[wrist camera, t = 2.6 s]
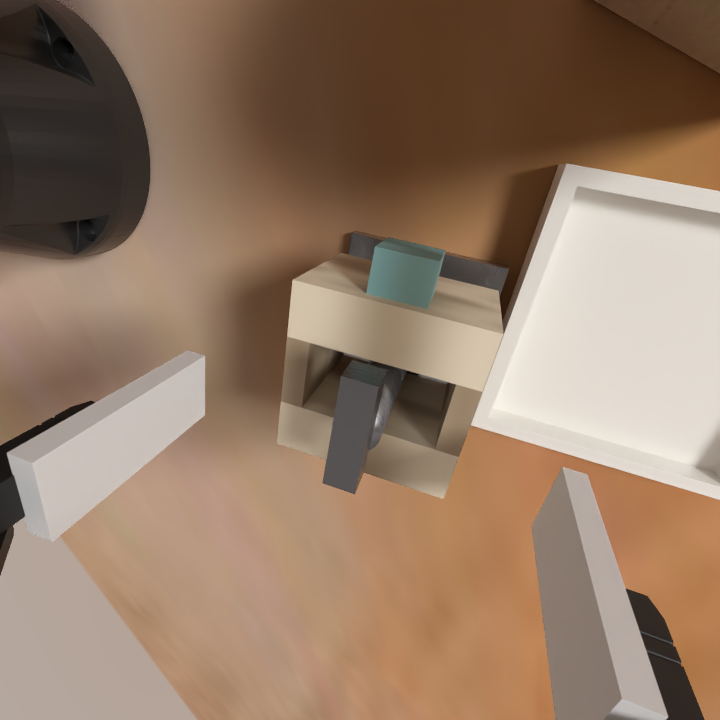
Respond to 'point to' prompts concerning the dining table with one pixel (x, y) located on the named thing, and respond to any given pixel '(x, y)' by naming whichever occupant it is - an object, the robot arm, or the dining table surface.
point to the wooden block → (677, 24)
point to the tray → (616, 330)
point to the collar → (390, 356)
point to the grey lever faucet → (382, 377)
